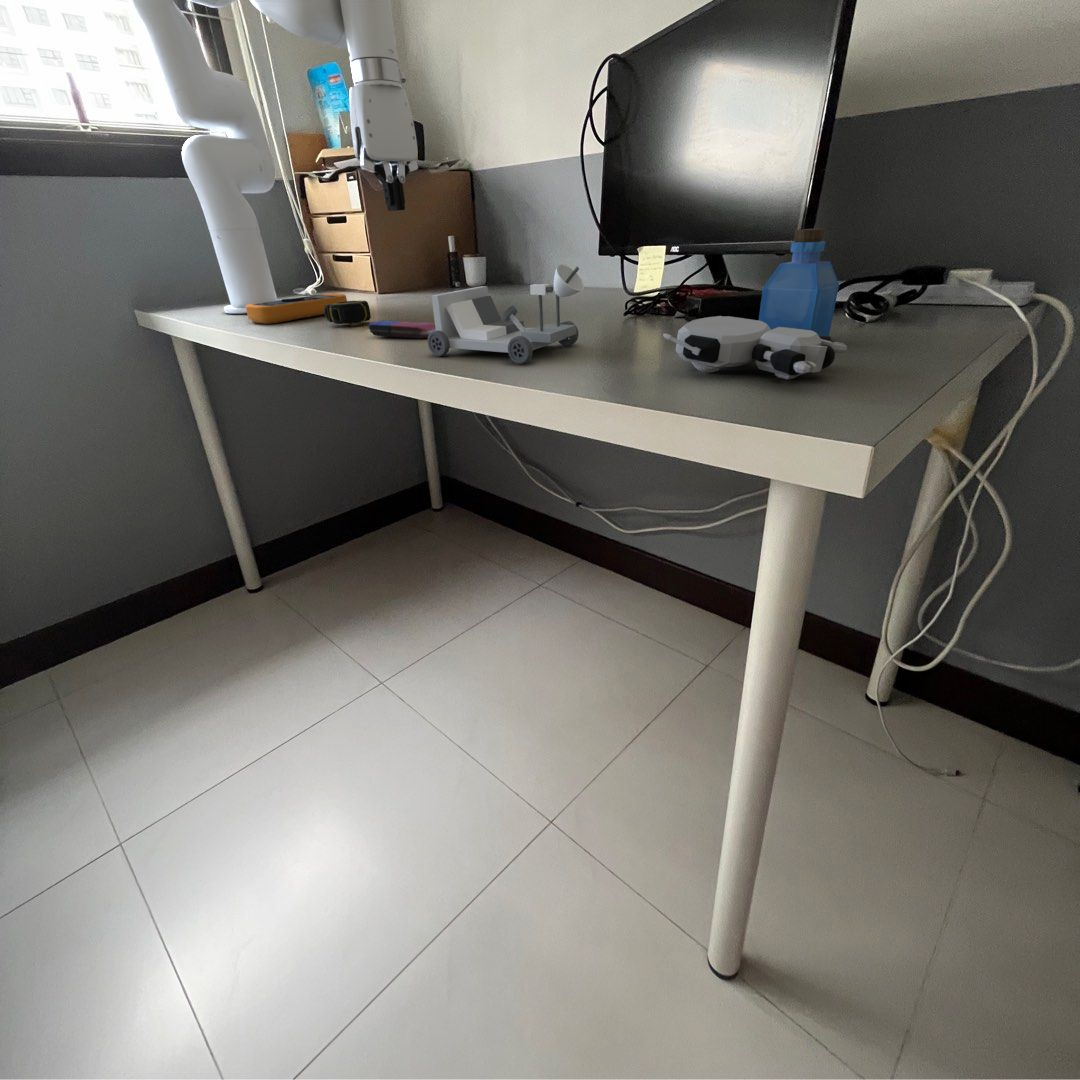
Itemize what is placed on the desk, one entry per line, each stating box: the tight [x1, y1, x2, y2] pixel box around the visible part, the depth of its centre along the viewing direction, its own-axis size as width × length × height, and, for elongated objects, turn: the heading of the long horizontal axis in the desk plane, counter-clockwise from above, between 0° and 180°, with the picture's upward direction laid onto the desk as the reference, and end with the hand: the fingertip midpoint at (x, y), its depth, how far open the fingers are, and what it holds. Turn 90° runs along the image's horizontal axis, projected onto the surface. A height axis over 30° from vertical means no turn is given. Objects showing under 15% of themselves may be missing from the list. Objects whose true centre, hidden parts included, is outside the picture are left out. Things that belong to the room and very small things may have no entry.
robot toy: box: [662, 315, 848, 380], centre depth 56 cm, size 12×4×15 cm
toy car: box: [427, 263, 585, 365], centre depth 70 cm, size 18×10×12 cm
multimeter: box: [245, 292, 348, 325], centre depth 111 cm, size 9×18×3 cm, turn 141°
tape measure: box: [324, 300, 372, 327], centre depth 98 cm, size 7×7×4 cm
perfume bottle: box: [758, 228, 840, 336], centre depth 66 cm, size 6×6×12 cm
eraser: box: [368, 320, 436, 339], centre depth 85 cm, size 11×4×2 cm, turn 67°
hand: (396, 210), depth 100 cm, fingers closed
